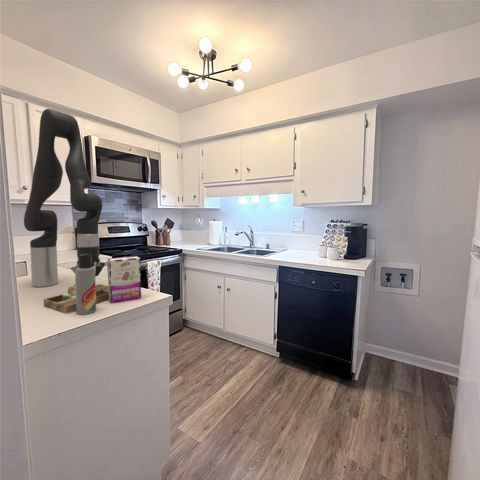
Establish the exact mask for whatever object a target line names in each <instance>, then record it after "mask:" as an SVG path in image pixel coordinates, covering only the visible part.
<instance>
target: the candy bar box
mask: <svg viewBox="0 0 480 480" xmlns="http://www.w3.org/2000/svg"><path fill="white" fill-rule="evenodd" d="M141 278H142V277H141V257H139V256H123V257H114V258H107V280H108V281H107V283H108V284H107V286H108V289H109V300H108V301H109V303H111V304H114V303H115V304H116V303H121V302H126V301H131V300H132V301H133V300H138V299H141V298H142V285H141V284H142V282H141V280H142V279H141Z"/></svg>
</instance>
